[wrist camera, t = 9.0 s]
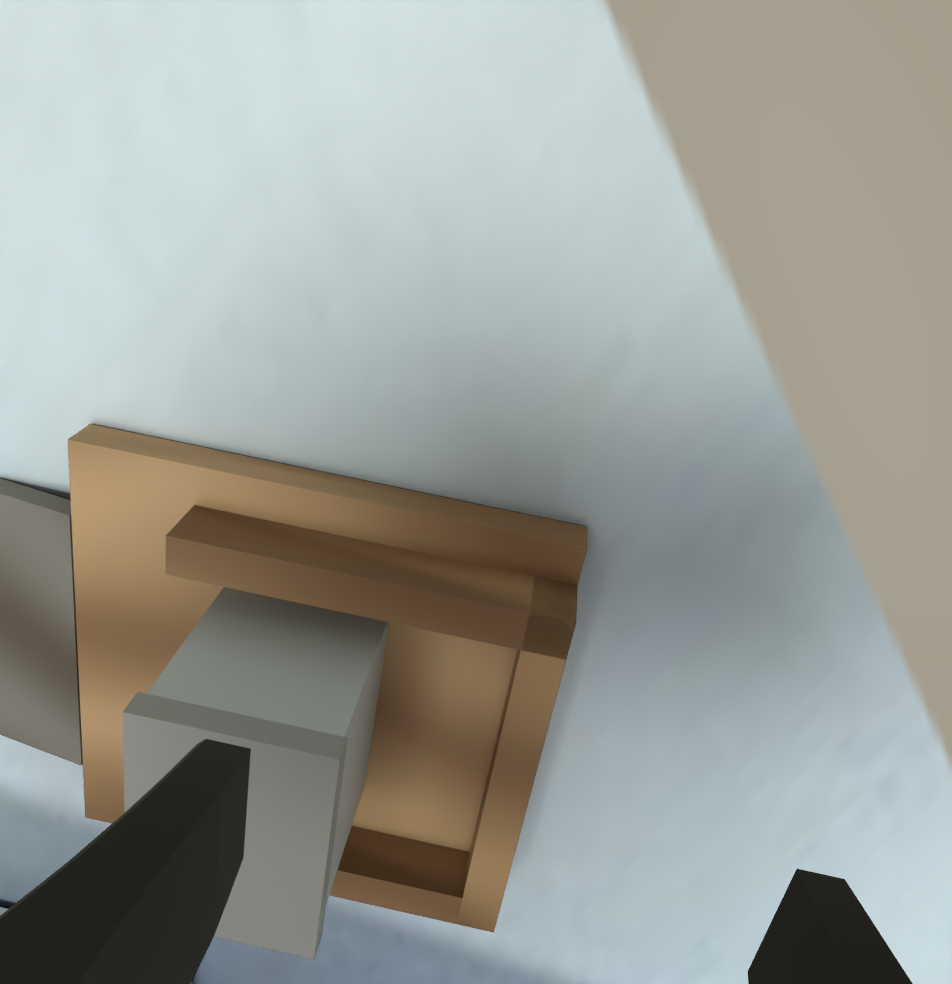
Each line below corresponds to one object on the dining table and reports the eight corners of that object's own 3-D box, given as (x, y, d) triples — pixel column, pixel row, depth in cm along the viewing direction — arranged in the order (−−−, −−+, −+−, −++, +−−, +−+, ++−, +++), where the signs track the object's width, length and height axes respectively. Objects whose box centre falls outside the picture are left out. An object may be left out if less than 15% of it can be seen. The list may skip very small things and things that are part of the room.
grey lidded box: (367, 789, 23) (313, 959, 19) (215, 756, 23) (126, 916, 19) (394, 611, 21) (339, 759, 16) (223, 575, 21) (122, 712, 16)
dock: (498, 863, 26) (487, 956, 23) (-77, 735, 27) (-155, 811, 24) (587, 515, 21) (586, 583, 18) (-134, 366, 21) (-242, 408, 19)
